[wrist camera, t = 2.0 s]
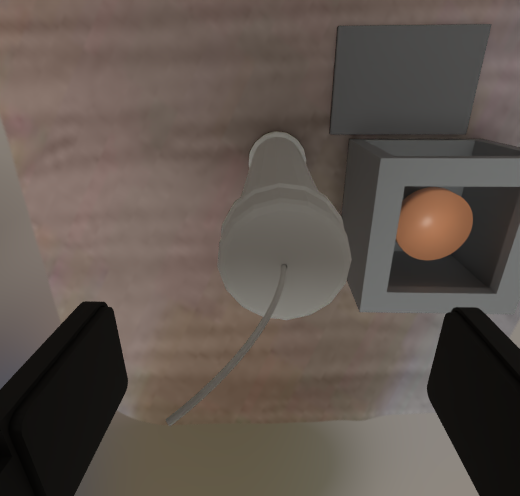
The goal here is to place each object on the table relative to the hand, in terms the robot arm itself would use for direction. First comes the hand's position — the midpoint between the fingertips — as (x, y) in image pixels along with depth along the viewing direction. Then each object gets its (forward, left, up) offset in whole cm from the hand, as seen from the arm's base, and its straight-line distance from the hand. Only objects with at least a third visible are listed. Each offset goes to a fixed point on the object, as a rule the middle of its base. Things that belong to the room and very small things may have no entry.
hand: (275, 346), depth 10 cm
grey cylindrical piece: (0, 0, -28) cm, 28 cm away
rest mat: (-7, +12, -28) cm, 31 cm away
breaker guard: (+4, +14, -28) cm, 32 cm away
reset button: (+4, +14, -24) cm, 28 cm away
